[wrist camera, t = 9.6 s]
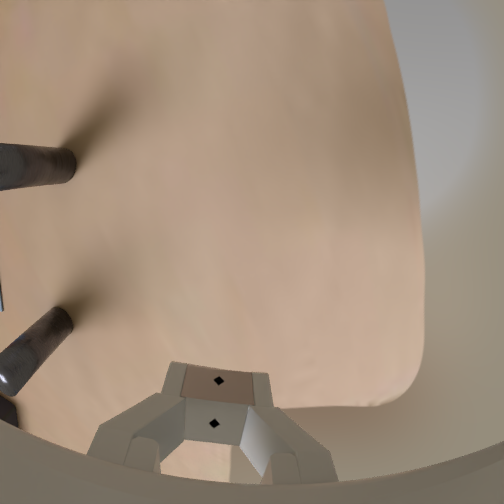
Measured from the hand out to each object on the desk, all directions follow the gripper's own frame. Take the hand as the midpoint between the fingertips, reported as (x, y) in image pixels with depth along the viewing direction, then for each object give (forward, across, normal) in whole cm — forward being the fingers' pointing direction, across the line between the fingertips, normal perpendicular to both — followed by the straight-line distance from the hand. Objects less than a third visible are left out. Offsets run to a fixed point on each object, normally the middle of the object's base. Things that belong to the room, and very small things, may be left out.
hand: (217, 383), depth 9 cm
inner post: (+13, +13, -5) cm, 19 cm away
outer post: (+13, +13, +7) cm, 20 cm away
